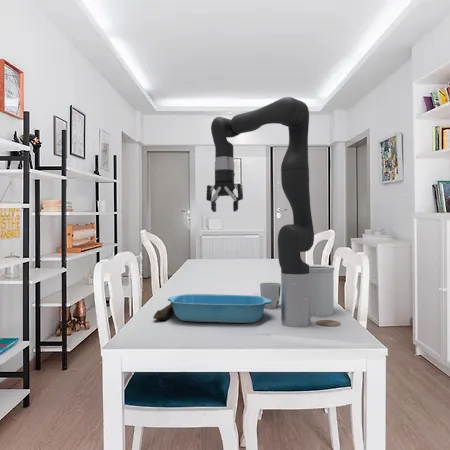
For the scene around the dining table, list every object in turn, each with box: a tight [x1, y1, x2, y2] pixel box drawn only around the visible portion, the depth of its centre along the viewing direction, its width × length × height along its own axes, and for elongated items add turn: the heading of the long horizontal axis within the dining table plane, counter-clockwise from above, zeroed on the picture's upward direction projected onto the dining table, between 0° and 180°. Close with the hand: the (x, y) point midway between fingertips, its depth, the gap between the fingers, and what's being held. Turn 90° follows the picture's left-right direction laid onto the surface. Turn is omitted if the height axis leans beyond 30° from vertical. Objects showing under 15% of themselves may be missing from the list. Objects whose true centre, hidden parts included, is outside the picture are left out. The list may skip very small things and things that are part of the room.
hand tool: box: [152, 301, 175, 321], centre depth 153 cm, size 19×4×5 cm
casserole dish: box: [167, 293, 271, 324], centre depth 150 cm, size 37×22×7 cm, turn 85°
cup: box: [259, 282, 281, 309], centre depth 164 cm, size 8×8×10 cm
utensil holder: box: [308, 264, 335, 317], centre depth 156 cm, size 15×15×18 cm
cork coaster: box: [315, 319, 341, 327], centre depth 139 cm, size 8×8×1 cm
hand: (224, 211), depth 162 cm, fingers open, 8 cm apart
